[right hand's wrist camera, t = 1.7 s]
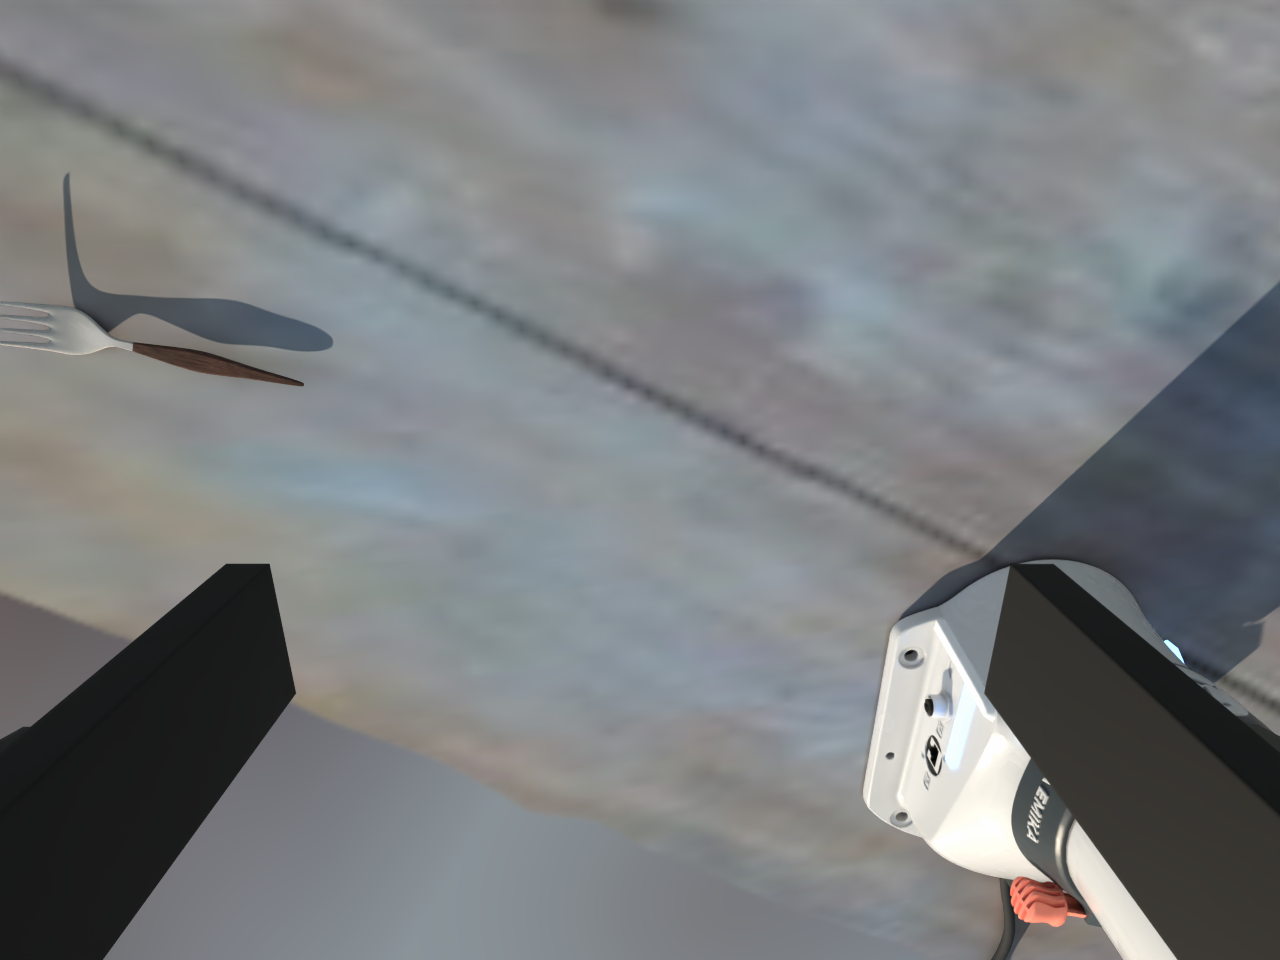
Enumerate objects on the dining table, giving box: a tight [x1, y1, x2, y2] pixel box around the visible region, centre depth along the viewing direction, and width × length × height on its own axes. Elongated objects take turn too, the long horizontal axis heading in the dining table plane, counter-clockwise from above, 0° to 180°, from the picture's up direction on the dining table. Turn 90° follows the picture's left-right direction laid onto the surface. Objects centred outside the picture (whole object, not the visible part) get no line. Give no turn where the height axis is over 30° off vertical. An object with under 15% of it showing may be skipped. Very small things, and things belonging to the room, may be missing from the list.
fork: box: [0, 301, 304, 386], centre depth 38 cm, size 3×16×2 cm, turn 76°
